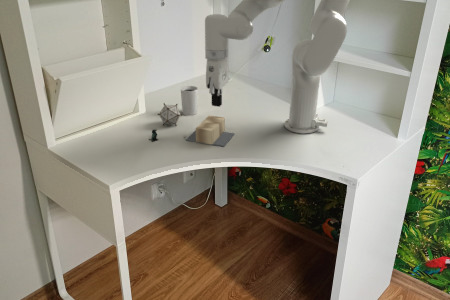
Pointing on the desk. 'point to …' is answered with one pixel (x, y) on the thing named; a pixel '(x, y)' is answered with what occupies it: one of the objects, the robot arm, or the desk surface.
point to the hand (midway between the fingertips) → (216, 105)
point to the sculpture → (153, 136)
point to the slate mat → (220, 141)
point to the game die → (170, 114)
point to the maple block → (210, 129)
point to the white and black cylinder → (189, 100)
